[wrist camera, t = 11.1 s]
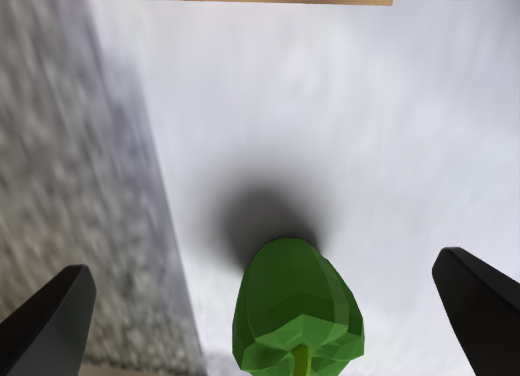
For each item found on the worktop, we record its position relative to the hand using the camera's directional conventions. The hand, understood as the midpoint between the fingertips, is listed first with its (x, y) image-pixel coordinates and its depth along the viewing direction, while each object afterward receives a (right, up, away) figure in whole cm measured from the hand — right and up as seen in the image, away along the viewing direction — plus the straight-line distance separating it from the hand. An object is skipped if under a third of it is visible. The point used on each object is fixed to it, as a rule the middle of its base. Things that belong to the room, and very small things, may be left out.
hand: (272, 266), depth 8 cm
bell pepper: (+1, -4, +18) cm, 18 cm away
